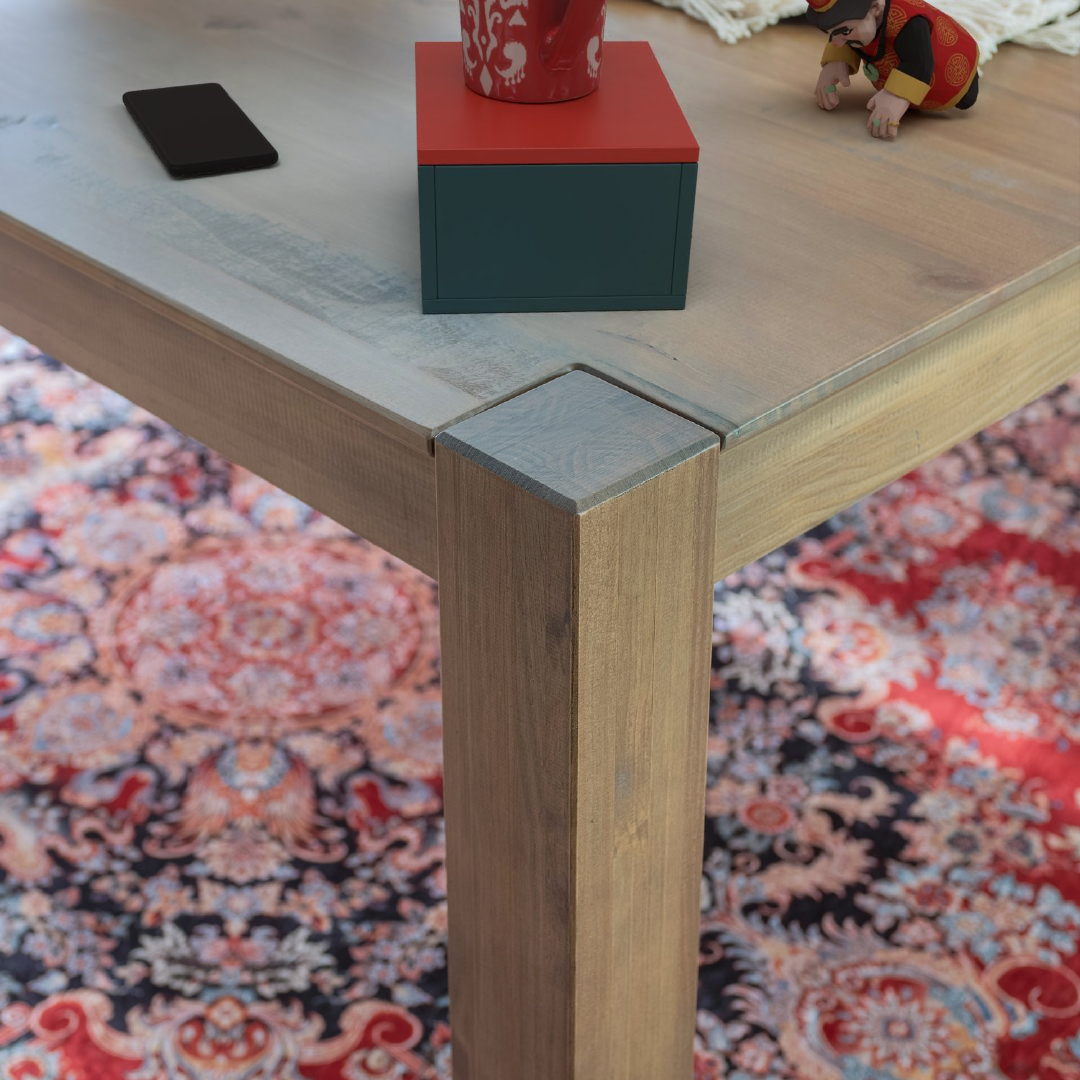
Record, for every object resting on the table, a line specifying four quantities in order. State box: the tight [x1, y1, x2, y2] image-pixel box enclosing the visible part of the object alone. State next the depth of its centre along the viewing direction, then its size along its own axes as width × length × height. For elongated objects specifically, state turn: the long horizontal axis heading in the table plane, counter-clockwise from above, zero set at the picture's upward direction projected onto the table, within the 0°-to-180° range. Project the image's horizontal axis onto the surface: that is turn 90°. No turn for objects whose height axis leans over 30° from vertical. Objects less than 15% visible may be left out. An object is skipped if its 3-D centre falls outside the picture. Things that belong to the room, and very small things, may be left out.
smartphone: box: [121, 82, 280, 178], centre depth 90 cm, size 7×1×15 cm
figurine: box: [805, 0, 981, 139], centre depth 93 cm, size 10×10×15 cm
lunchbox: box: [416, 162, 699, 314], centre depth 75 cm, size 17×14×8 cm
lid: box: [414, 40, 701, 165], centre depth 73 cm, size 17×14×1 cm
